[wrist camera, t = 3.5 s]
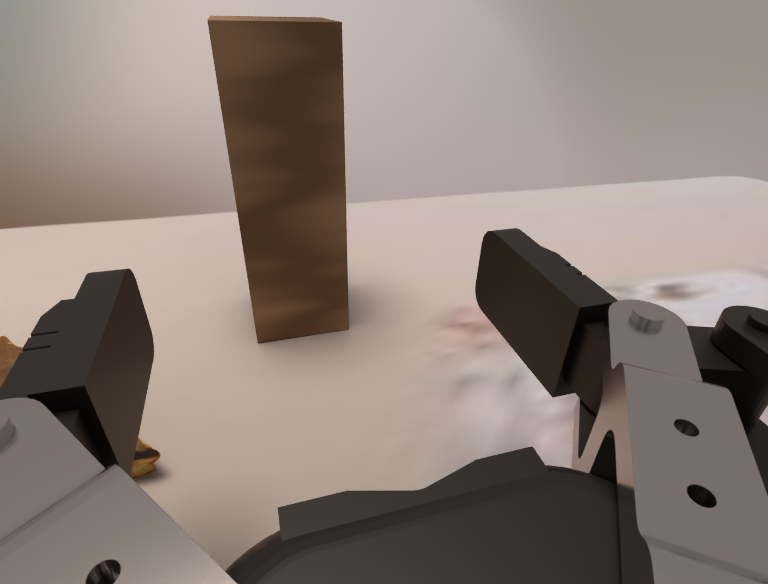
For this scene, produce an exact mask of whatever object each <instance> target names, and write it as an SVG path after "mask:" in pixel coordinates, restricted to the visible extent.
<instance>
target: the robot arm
mask: <svg viewBox="0 0 768 584" xmlns="http://www.w3.org/2000/svg"><path fill="white" fill-rule="evenodd" d="M475 291H476V299H477V302H478V305H479V307H480V309H481V310H482V311H483V313H484V314H485V315H486V316H487V318H488V319H489V320H490V321H491V323H492V324H493V325H494V326H495V327H496V329H497V330H498V331H499V332H500V334H501V335H502V336H503V337H504V338H505V340H506V341H507V342H508V343H509V345H510V346H511V347H512V348H513V349H514V351H515V352H516V353H517V354H518V356H519V357H520V358H521V359H522V360H523V362H524V363H525V364H526V365H527V367H528V368H529V369H530V370H531V371H532V373H533V374H534V375H535V376H536V378H537V379H538V380H539V381H540V383H541V384H542V385H543V386H544V387H545V389H546V390H547V391H548V392H549V394H550V395H551V396H552V397H557V396H562V395H566V394H571V393H576V394H577V395H578V400H577V402H576V405H575V410H574V430H573V452H572V469H570V468H565V467H557V466H548V465H545V464H544V463H543V461H542V460H541V458H540V457H539V455H538V454H537V453H536V451H535V450H534V448H533V447H528V448H523V449H519V450H515V451H511V452H507V453H503V454H498V455H494V456H490V457H486V458H482V459H478V460H475V461H473V462H471V463H470V464H468V465H466V466H464V467H462V468H461V469H459V470H457V471H455V472H453V473H452V474H450V475H448V476H446V477H444V478H442V479H441V480H439V481H437V482H435V483H433V484H432V485H430V486H428V487H426V488H424V489H421V490H414V491H345V492H341V493H336V494H332V495H328V496H324V497H320V498H316V499H312V500H307V501H303V502H299V503H295V504H291V505H287V506H282V507H278V514H279V523H280V530H279V531H278V532H276V533H274V534H272V535H270V536H268V537H267V538H265V539H264V540H262V541H261V542H259V543H258V544H256V545H255V546H253V547H252V548H250V549H249V550H248V551H247V552H245V553H244V554H243V555H242V556H241V557H240V558H238V559H237V560H236V561H235V562H234V563H233V564H232V565H231V566H230V567H229V568H228V569H227V570H226V571H224V570H223V569H222V568H221V567H220V566H219V565H218V564H217V563H216V562H215V561H214V560H213V559H212V558H211V557H210V556H209V555H208V554H207V553H206V552H205V551H204V550H203V549H202V548H201V547H200V546H199V545H198V544H197V543H196V542H195V541H194V540H193V539H192V538H191V537H190V536H189V535H188V534H187V533H186V532H185V531H184V530H183V529H182V528H181V527H180V526H179V525H178V524H177V523H176V522H175V521H174V520H173V519H172V518H171V517H170V516H169V515H168V514H167V513H166V512H165V511H164V510H163V509H162V508H161V507H160V506H159V505H158V504H157V503H156V502H155V501H154V500H153V499H152V498H151V497H150V496H149V495H148V494H147V493H146V492H145V491H144V490H143V489H142V488H141V487H140V486H139V485H138V484H137V483H136V482H135V481H134V480H133V479H132V478H131V477H130V476H131V471H132V465H133V460H134V455H135V450H136V445H137V440H138V435H139V430H140V425H141V420H142V414H143V409H144V404H145V399H146V394H147V389H148V384H149V379H150V374H151V369H152V363H153V358H154V344H153V336H152V332H151V328H150V325H149V321H148V318H147V315H146V311H145V308H144V305H143V302H142V298H141V295H140V292H139V289H138V285H137V282H136V279H135V276H134V274H133V272H132V271H131V270H130V269H122V270H112V271H103V272H93V273H88V274H87V275H86V277H85V279H84V281H83V283H82V285H81V287H80V289H79V291H78V293H77V295H76V297H75V299H69V300H61V301H60V302H59V303H58V304H56V305H55V306H54V307H53V308H51V309H50V310H49V311H47V312H46V313H45V314H44V315H42V316H41V317H40V319H39V321H38V323H37V324H36V326H35V328H34V330H33V331H32V333H31V338H28V340H27V342H26V344H25V345H24V347H23V349H22V350H23V353H20V354H19V356H18V358H17V359H16V361H15V363H14V365H13V366H12V368H11V370H10V372H9V373H8V375H7V377H6V379H5V380H4V382H3V384H2V386H1V387H0V584H768V426H767V425H766V424H765V423H763V422H762V421H761V420H760V419H759V418H760V416H761V415H762V413H763V412H764V410H765V408H766V407H767V405H768V311H767V310H763V309H760V308H755V307H749V306H731V307H728V308H725V309H724V310H723V312H722V313H721V315H720V317H719V319H718V321H717V323H716V325H715V327H697V326H686V324H685V323H684V322H683V320H682V319H681V318H680V317H679V316H677V315H676V314H675V313H673V312H671V311H670V310H668V309H666V308H664V307H661V306H659V305H656V304H653V303H650V302H645V301H640V300H620V301H618V300H617V299H615V298H614V297H613V296H611V295H610V294H609V293H608V292H606V291H605V290H604V289H602V288H601V287H600V286H599V285H597V284H596V283H595V282H593V281H592V280H591V279H590V278H588V277H587V276H586V275H582V272H580V271H579V270H578V269H577V268H575V267H574V266H571V264H570V263H569V262H568V261H566V260H565V259H564V258H562V257H561V256H560V255H559V254H557V253H555V252H553V251H551V250H548V249H546V248H544V247H541V246H540V245H539V244H537V243H536V242H535V241H534V240H532V239H531V238H530V237H529V236H527V235H526V234H525V233H524V232H522V231H521V230H520V229H517V228H514V229H504V230H495V231H488V232H487V233H486V234H485V235H484V237H483V241H482V247H481V253H480V260H479V266H478V273H477V280H476V287H475Z"/></svg>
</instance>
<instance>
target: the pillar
mask: <svg viewBox="0 0 768 584" xmlns="http://www.w3.org/2000/svg"><path fill="white" fill-rule="evenodd" d="M208 26H209V33H210V39H211V45H212V52H213V58H214V64H215V71H216V78H217V84H218V90H219V96H220V103H221V110H222V116H223V122H224V129H225V135H226V142H227V148H228V155H229V161H230V168H231V174H232V180H233V187H234V193H235V199H236V206H237V212H238V219H239V225H240V232H241V238H242V245H243V251H244V257H245V264H246V270H247V277H248V283H249V289H250V296H251V302H252V309H253V315H254V321H255V328H256V334H257V341H258V343H263V342H269V341H275V340H282V339H288V338H295V337H301V336H308V335H314V334H321V333H327V332H334V331H340V330H347V329H349V317H348V273H347V229H346V187H345V186H346V185H345V144H344V142H345V141H344V100H343V99H344V98H343V53H342V22H339V21H334V20H329V19H324V18H312V17H309V18H308V17H253V16H250V17H249V16H210V17H209V19H208Z"/></svg>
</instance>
